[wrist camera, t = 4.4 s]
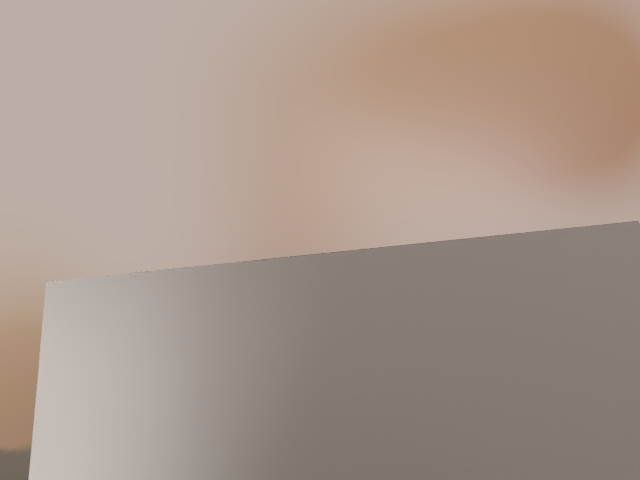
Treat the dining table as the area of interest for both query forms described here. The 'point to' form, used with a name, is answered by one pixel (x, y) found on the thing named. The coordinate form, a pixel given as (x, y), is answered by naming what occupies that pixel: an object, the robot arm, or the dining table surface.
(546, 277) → the light grey rectangular block
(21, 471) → the dining table surface
